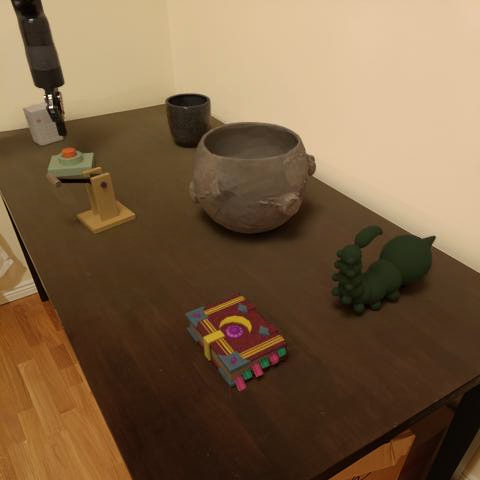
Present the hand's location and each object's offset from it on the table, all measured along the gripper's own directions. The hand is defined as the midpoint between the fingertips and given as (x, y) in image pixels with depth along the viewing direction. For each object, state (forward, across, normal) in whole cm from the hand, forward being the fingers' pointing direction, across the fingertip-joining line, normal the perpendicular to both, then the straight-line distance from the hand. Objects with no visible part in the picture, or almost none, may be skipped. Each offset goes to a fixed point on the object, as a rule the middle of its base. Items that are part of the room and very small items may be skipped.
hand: (63, 135), depth 119 cm
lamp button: (+6, 0, 0) cm, 6 cm away
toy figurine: (+9, +70, +65) cm, 96 cm away
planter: (+9, -13, +36) cm, 40 cm away
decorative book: (+9, +79, +35) cm, 87 cm away
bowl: (+9, +39, +45) cm, 61 cm away
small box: (+10, -23, -10) cm, 27 cm away
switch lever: (-1, +34, +7) cm, 34 cm away
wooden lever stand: (+9, +31, +11) cm, 34 cm away
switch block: (+10, 0, 0) cm, 10 cm away
